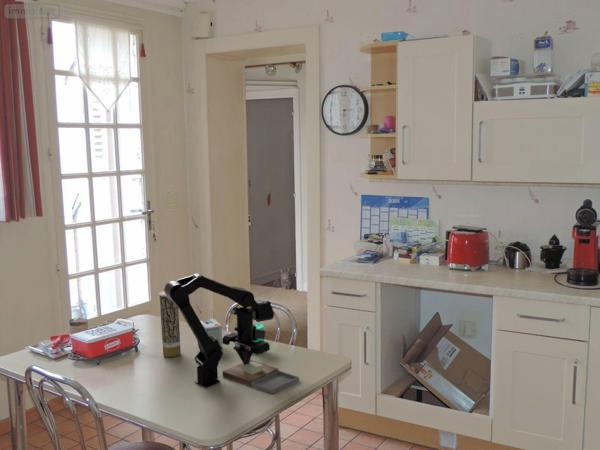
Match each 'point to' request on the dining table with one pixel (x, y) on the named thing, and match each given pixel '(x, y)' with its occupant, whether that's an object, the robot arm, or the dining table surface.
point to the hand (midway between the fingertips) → (246, 366)
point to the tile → (252, 368)
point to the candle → (260, 326)
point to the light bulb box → (213, 329)
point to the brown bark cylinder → (169, 326)
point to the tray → (274, 382)
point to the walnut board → (246, 378)
